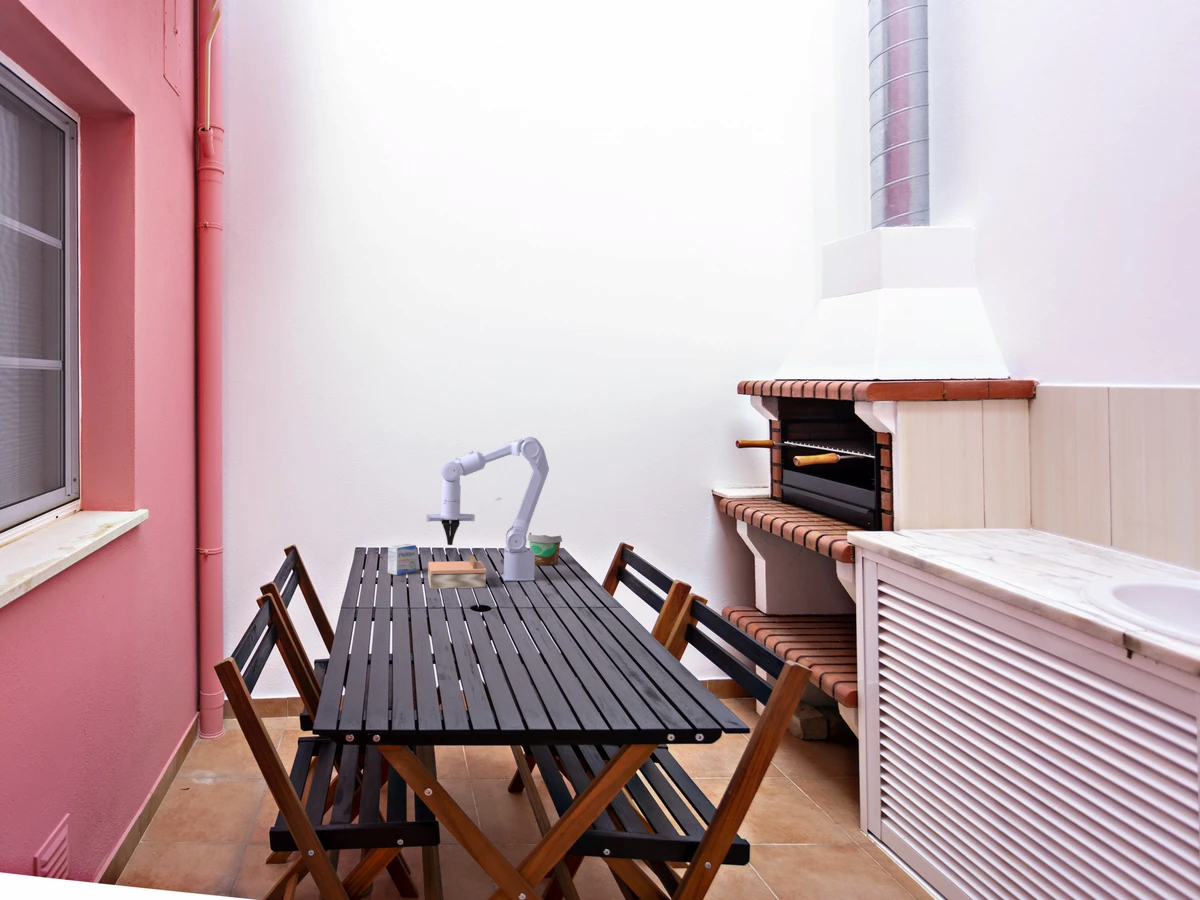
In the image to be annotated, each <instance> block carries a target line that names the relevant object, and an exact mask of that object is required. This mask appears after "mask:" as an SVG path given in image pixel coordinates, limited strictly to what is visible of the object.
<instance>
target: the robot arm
mask: <svg viewBox="0 0 1200 900" xmlns="http://www.w3.org/2000/svg"><path fill="white" fill-rule="evenodd" d="M520 453H521V455H522V457H523V458H524V459H526V460H527V461H528V463H529V464H530V466H531V468H532V472H531V476H530V478H529V481H528V484H527V487H526V488H525V489H526V490H525V492H524V494H523V497H522V500H521V503H520V505H519V508H518V511H517V514H516V517H515V519H514V521H513V523H512V526H511V527H510V528H509V529H508V530H507V531H506V533H505V536H506V537H505V544H506V546H505V547H504V548H503V573H502V574H500V577H501V579H502V580H503V582H518V581H519V582H520V581H521V582H522V581H527V582H528V581H535V580H536V579H535V572H536V570H535V568H536V567H535V566H536V565H535V555H534V551H533V550H530V549H528V546H526V545H527V541H528V539H527V534H528V530H529V527H530V525H531V524H530V523H531V522H532V521H531V520H532V518H533V515H534V512H535V509H536V507H537V504H538V501H539V498H540V496H541V494H542V490H543V487H544V484H545V482H546V479H547V477H548V473H549V472H550V471H549V470H550V468H549V463H548V459H547V455H546V451H545V449H544V447H543V446H542V444H541V442H540V441H539V440H538V438H535V437H534V436H529V437H525V438H524V439H523V438H521V439H517V440H513V441H510V442H508V443H505V444H502V445H500V446H497V447H495V448H493V449H490V450H488V451H486V452H483V453H482V452H480V451H474V450H471V451H468V453H467V455H464V456H461V457H457V456H456V457H454V458H453V460H450V461H447V462H445V463H444V465H443V466H442V467H441V475H442V480H441V483H442V484H441V505H440V507H441V508H440V513H434V514H433V513H432V514H431V513H429V514H428V513H427V514H425V515H426V517H425V518H426V519H425V520H426V522H427V523H430V522H441V524H442V527H443V529H444V532H445V536H446V542H447V543H446V544H447V545H448V546H453V545H454V539H455V536H456V533H457V531H458V528H459V527H460V524H461V523H460V522H475V520H476V519H475V517H476V515H475V514H474V513H473V514H472V513H470V514H469V513H461V485H460V484H461V476H464V477H466V476H467V475H471V474H473V473H475V472H476V473H477V472H478V471H480V470H484V469H485V467H486V464H488V463H490V462H494V461H496V460H499V459H501V458H504V457H507V456H510V455H511V456H517V457H521V455H520Z"/></svg>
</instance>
